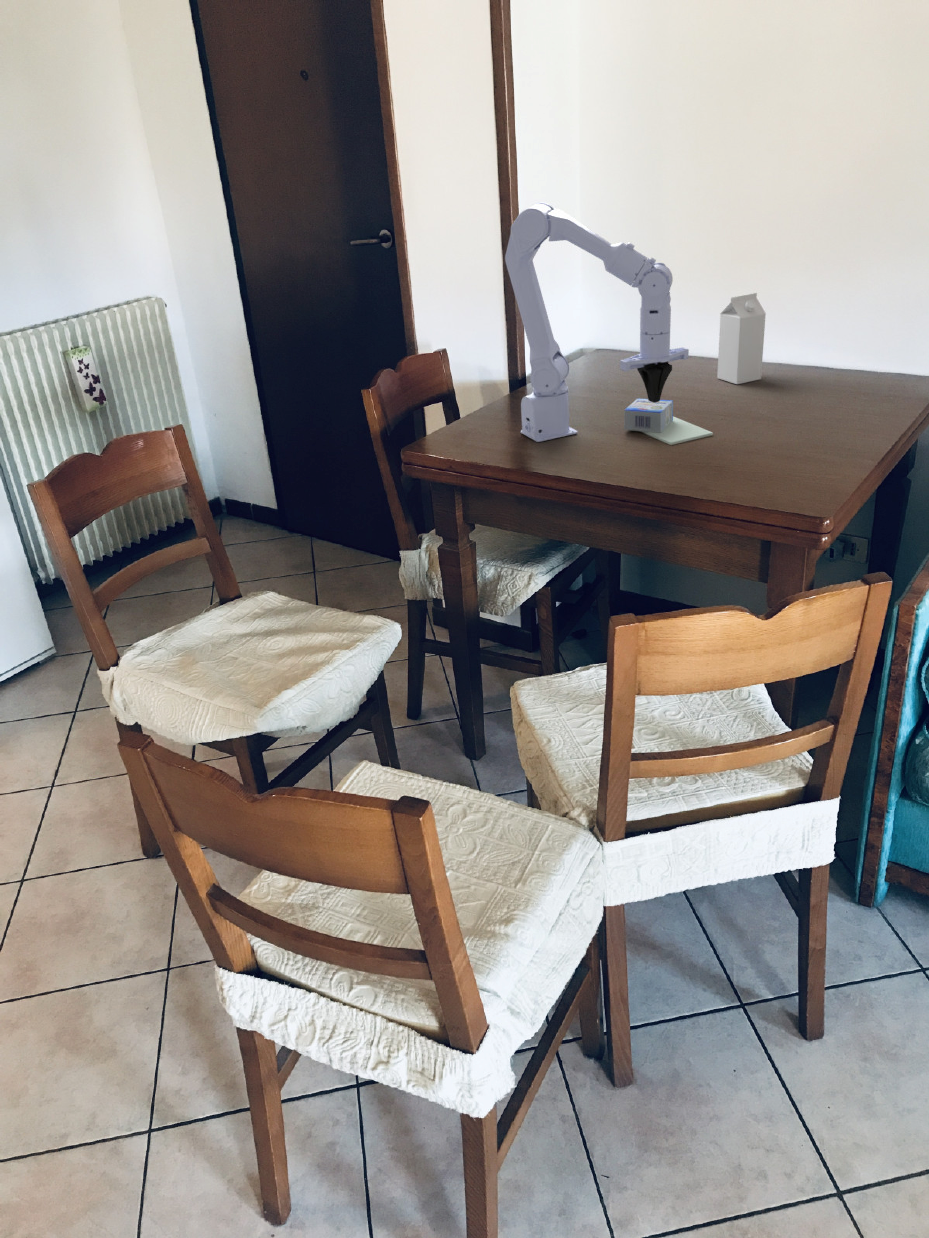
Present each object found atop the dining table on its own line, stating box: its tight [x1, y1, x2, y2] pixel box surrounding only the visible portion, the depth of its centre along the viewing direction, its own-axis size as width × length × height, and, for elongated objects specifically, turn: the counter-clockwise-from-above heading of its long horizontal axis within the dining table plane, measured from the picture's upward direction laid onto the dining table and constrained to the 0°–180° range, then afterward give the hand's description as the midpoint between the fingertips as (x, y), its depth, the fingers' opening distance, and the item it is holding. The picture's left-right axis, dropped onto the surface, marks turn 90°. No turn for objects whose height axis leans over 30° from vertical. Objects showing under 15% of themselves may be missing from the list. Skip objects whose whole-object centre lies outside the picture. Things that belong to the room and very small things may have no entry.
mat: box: [640, 415, 714, 446], centre depth 195 cm, size 10×15×1 cm, turn 24°
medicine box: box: [623, 397, 674, 433], centre depth 196 cm, size 8×4×9 cm
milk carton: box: [716, 292, 766, 385], centre depth 219 cm, size 7×7×19 cm
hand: (653, 401), depth 190 cm, fingers closed
